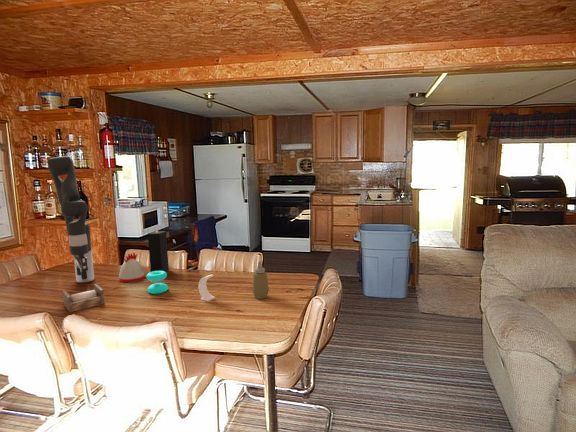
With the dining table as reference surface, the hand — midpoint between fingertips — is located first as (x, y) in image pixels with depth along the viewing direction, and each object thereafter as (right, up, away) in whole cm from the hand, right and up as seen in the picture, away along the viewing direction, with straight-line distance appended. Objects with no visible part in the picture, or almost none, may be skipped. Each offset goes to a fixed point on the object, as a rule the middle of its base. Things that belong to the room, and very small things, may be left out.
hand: (82, 277), depth 177 cm
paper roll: (0, -12, +2) cm, 12 cm away
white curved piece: (+58, -12, +5) cm, 59 cm away
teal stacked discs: (+30, -11, +18) cm, 36 cm away
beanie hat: (+6, -8, +41) cm, 42 cm away
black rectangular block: (+19, -6, +53) cm, 56 cm away
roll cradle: (0, -13, +2) cm, 13 cm away
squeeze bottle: (+84, -11, +5) cm, 85 cm away
